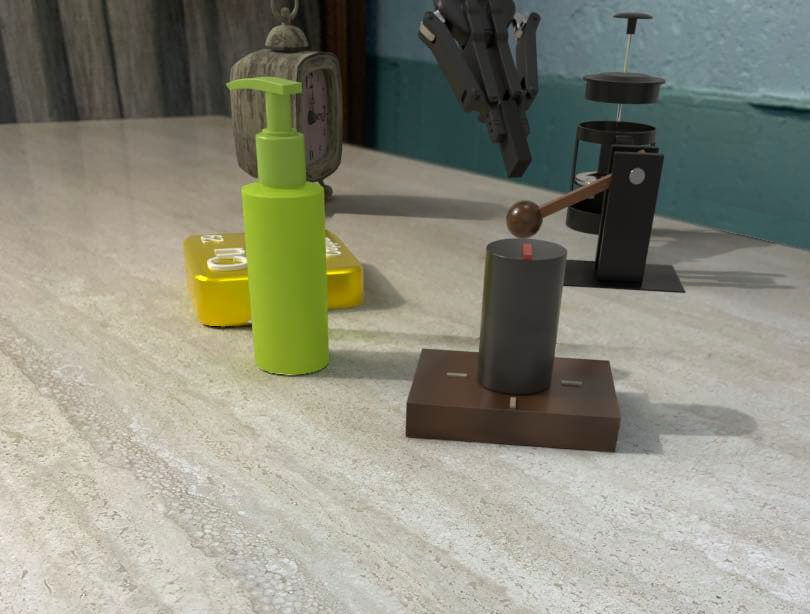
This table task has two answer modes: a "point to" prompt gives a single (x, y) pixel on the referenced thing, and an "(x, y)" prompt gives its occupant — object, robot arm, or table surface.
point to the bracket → (627, 228)
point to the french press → (611, 128)
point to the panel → (513, 405)
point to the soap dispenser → (285, 242)
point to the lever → (548, 208)
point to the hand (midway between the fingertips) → (520, 168)
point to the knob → (520, 314)
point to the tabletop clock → (292, 100)
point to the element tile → (229, 286)
